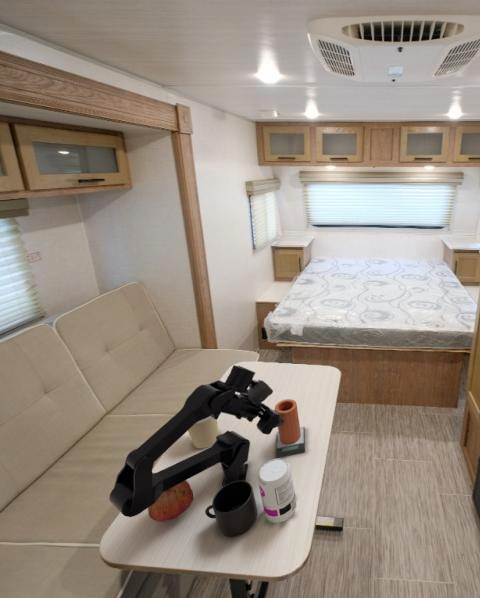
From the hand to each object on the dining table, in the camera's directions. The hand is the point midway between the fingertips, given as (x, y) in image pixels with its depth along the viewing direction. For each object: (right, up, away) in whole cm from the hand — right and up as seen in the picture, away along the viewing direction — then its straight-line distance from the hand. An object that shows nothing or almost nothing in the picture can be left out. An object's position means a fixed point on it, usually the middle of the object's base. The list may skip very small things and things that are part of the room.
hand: (276, 415), depth 110 cm
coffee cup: (-26, -11, +7) cm, 29 cm away
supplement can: (+7, -20, -17) cm, 27 cm away
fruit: (-21, -20, -17) cm, 34 cm away
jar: (+3, -9, +5) cm, 11 cm away
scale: (+3, -11, +5) cm, 13 cm away
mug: (-4, -21, -20) cm, 29 cm away
